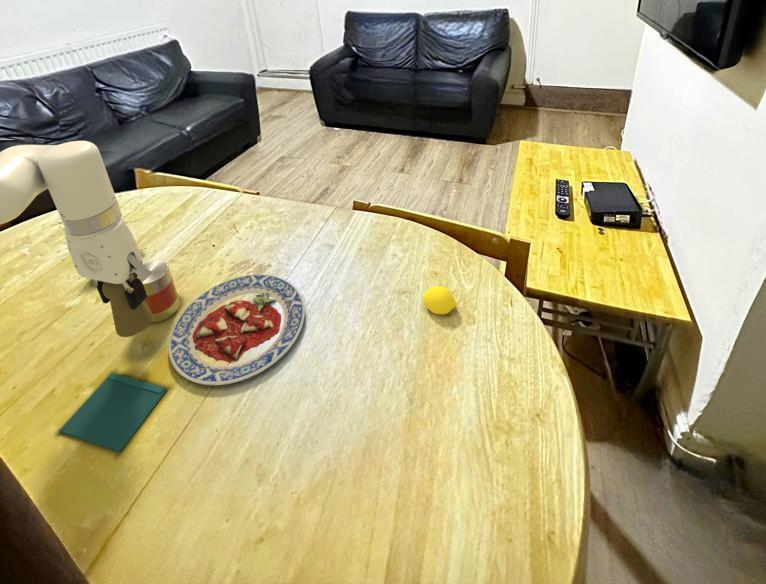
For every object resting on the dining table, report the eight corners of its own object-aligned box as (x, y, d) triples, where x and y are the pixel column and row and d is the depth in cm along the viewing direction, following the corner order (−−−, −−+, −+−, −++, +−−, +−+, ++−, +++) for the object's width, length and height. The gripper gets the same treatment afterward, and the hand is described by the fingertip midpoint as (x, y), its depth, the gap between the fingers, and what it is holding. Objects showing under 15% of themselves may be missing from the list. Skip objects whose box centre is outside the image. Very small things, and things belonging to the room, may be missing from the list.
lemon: (419, 315, 85) (419, 295, 82) (426, 295, 89) (427, 276, 87) (452, 325, 82) (453, 305, 80) (458, 304, 87) (459, 285, 85)
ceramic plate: (210, 425, 66) (206, 413, 65) (149, 334, 83) (145, 324, 81) (331, 323, 83) (330, 313, 82) (261, 265, 100) (259, 255, 98)
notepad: (61, 435, 66) (58, 429, 65) (113, 377, 75) (111, 371, 74) (121, 456, 63) (118, 450, 62) (168, 392, 72) (166, 387, 71)
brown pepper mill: (108, 331, 74) (87, 285, 70) (136, 306, 79) (119, 261, 75) (132, 341, 72) (113, 294, 68) (160, 314, 77) (144, 268, 73)
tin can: (137, 321, 86) (121, 281, 81) (161, 296, 92) (148, 257, 87) (164, 328, 84) (150, 287, 79) (187, 302, 90) (175, 262, 86)
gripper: (29, 223, 65) (69, 308, 72) (115, 238, 61) (148, 327, 68) (73, 197, 72) (105, 277, 79) (154, 209, 67) (180, 292, 75)
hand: (125, 299), depth 73 cm, fingers closed on brown pepper mill, 5 cm apart
